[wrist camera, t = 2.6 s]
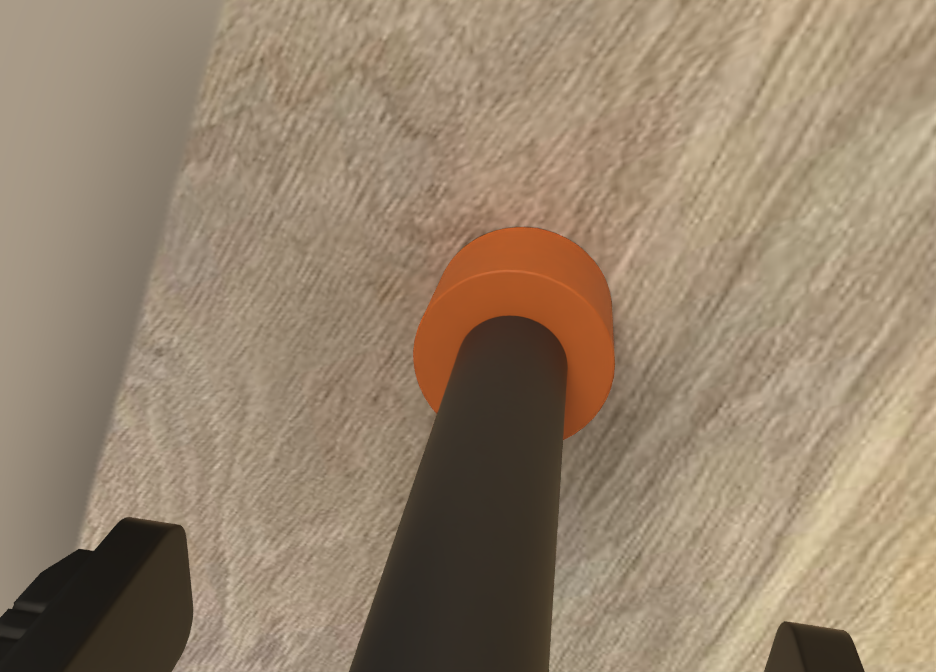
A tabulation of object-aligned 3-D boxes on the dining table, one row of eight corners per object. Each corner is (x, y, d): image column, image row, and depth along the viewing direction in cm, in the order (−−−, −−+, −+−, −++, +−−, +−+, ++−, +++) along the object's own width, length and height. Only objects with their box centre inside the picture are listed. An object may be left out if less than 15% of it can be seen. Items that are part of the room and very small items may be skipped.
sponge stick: (406, 266, 20) (100, 775, 8) (570, 198, 19) (525, 673, 6) (481, 409, 22) (327, 1034, 9) (638, 354, 20) (711, 996, 8)
